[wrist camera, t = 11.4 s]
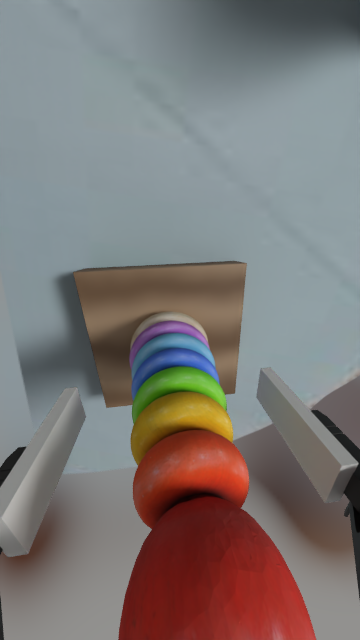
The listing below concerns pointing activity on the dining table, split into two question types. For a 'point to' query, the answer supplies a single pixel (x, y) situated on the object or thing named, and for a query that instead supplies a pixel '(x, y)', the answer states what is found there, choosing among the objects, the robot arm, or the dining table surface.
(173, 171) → the dining table surface
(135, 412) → the stacking toy
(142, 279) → the walnut base
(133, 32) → the dining table surface
